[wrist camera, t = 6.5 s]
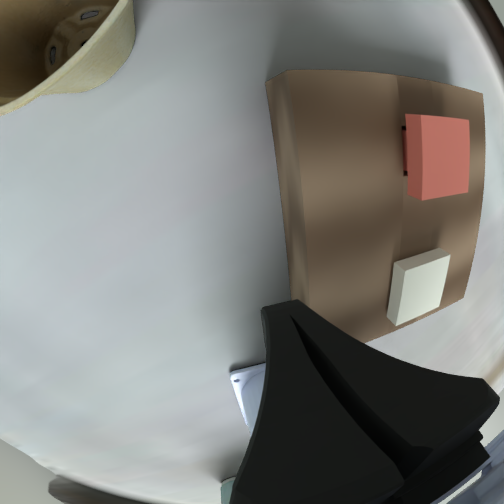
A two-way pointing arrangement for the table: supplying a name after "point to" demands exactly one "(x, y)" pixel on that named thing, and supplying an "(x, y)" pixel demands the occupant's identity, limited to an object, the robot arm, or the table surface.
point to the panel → (366, 190)
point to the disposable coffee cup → (226, 490)
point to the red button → (436, 155)
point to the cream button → (417, 285)
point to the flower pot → (60, 46)
